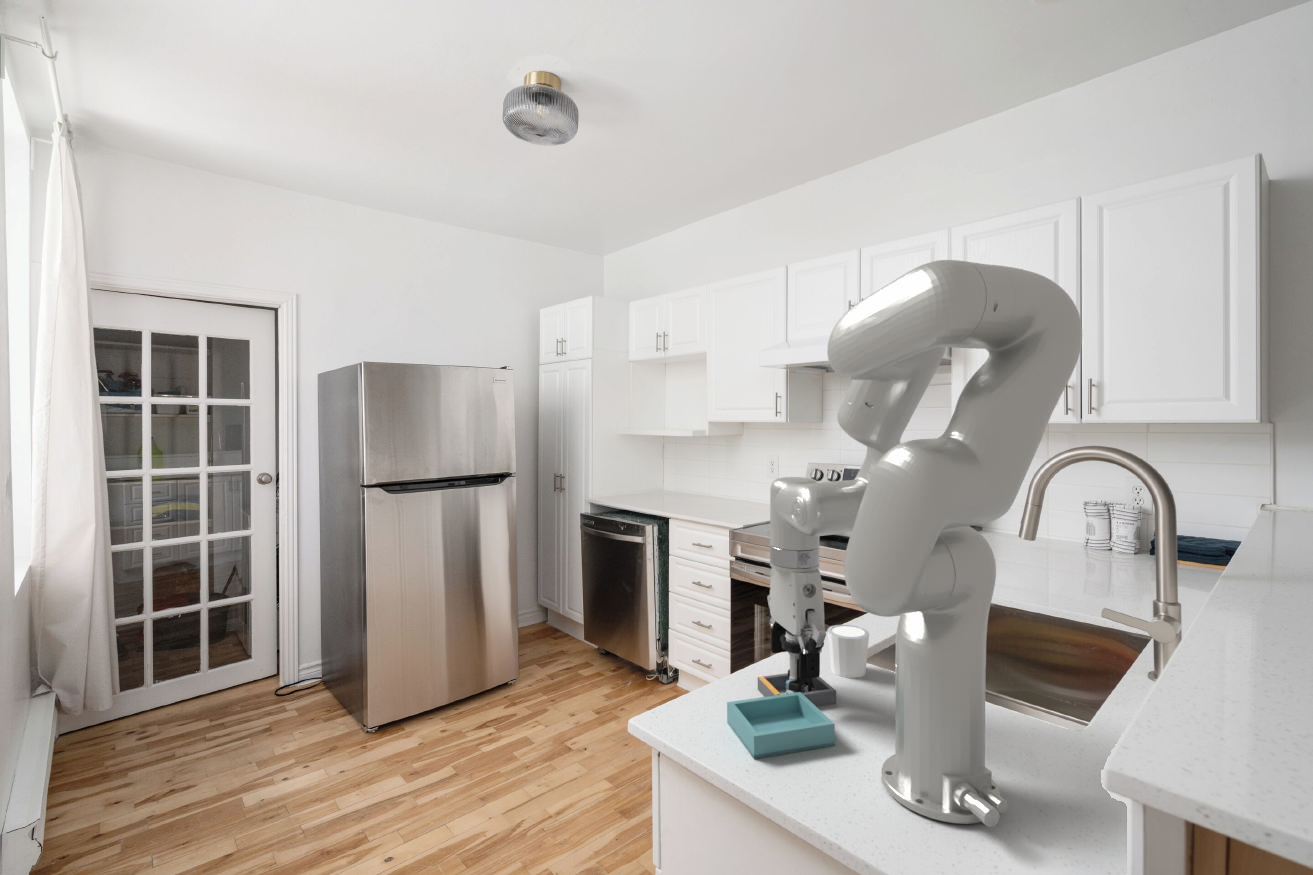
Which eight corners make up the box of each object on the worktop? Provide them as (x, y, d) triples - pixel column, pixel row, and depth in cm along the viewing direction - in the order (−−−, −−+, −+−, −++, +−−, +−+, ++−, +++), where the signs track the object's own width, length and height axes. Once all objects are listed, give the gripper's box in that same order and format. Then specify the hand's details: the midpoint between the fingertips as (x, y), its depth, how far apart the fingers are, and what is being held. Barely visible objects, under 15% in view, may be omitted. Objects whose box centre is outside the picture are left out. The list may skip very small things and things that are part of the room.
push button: (801, 709, 90) (800, 643, 90) (770, 698, 94) (769, 635, 94) (821, 693, 95) (820, 631, 95) (790, 684, 99) (790, 624, 99)
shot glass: (839, 659, 109) (839, 621, 108) (876, 670, 104) (876, 630, 103) (819, 671, 104) (819, 631, 103) (857, 683, 99) (857, 641, 99)
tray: (834, 745, 80) (834, 723, 80) (754, 758, 78) (753, 736, 77) (800, 711, 90) (800, 691, 90) (727, 722, 87) (727, 702, 87)
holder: (836, 703, 92) (836, 688, 92) (778, 711, 90) (778, 696, 90) (811, 681, 100) (811, 668, 99) (757, 689, 97) (757, 675, 97)
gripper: (846, 569, 86) (845, 685, 87) (790, 543, 103) (790, 640, 104) (799, 573, 85) (798, 692, 86) (750, 545, 101) (749, 645, 102)
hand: (793, 663), depth 95 cm, fingers open, 9 cm apart
